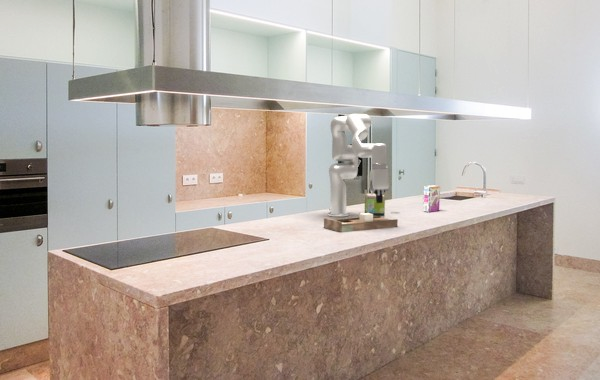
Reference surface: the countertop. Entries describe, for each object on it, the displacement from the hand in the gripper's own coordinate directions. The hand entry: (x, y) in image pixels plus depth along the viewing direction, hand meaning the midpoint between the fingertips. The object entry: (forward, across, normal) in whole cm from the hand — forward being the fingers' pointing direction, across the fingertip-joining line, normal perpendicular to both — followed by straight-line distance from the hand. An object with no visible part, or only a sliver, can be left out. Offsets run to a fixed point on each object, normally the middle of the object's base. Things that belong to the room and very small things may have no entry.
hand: (379, 202), depth 268 cm
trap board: (+13, +9, -4) cm, 16 cm away
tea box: (+12, -12, -21) cm, 27 cm away
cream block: (+10, +8, 0) cm, 13 cm away
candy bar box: (+12, -66, -35) cm, 75 cm away
